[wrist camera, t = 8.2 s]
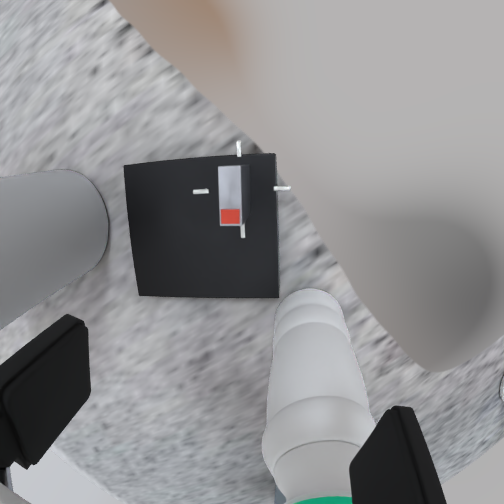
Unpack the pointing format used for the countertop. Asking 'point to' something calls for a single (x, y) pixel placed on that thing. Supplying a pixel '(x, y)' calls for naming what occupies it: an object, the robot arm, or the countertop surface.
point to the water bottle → (314, 401)
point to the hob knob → (234, 194)
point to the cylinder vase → (46, 236)
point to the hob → (202, 229)
